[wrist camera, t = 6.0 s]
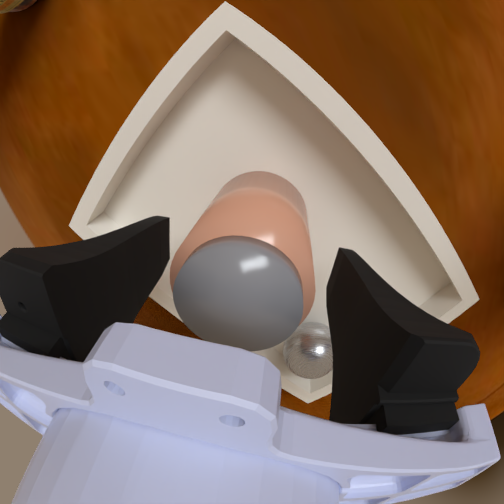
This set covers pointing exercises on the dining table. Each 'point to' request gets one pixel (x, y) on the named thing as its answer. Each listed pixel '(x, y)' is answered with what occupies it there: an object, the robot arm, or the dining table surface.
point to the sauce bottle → (15, 5)
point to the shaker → (247, 265)
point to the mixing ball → (309, 351)
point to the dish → (271, 171)
